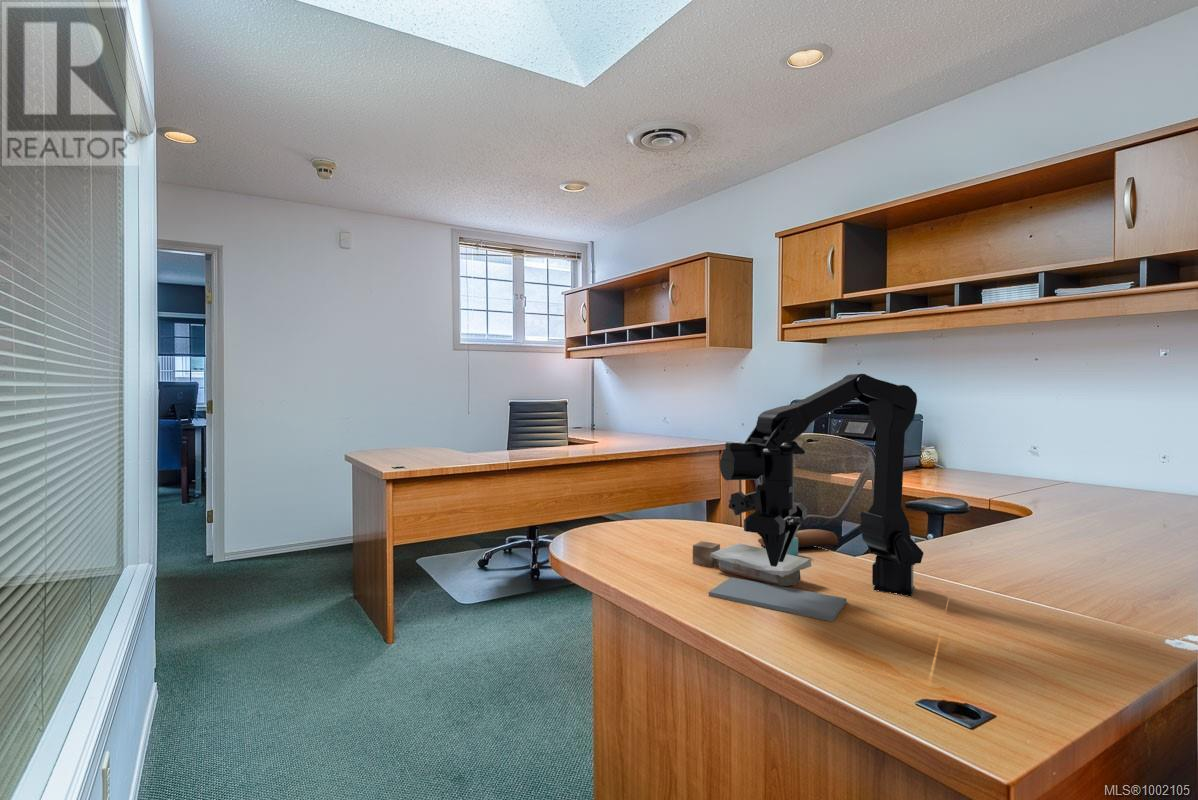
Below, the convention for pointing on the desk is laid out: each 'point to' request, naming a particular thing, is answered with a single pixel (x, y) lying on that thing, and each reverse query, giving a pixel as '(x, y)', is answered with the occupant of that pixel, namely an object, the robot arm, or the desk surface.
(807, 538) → the sweet potato
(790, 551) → the teal cylinder
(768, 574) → the light grey block
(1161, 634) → the desk surface
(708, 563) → the walnut block
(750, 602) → the mat
